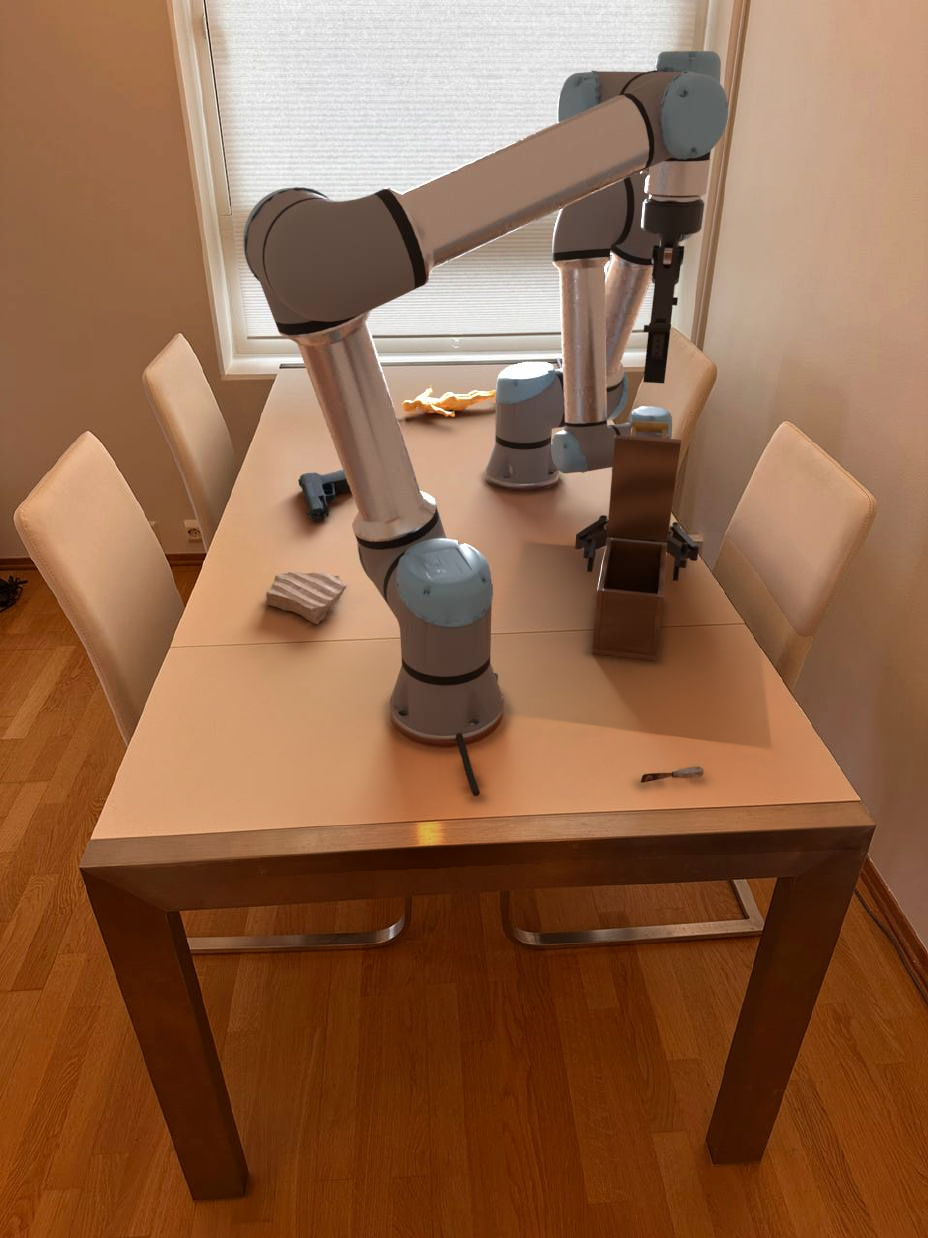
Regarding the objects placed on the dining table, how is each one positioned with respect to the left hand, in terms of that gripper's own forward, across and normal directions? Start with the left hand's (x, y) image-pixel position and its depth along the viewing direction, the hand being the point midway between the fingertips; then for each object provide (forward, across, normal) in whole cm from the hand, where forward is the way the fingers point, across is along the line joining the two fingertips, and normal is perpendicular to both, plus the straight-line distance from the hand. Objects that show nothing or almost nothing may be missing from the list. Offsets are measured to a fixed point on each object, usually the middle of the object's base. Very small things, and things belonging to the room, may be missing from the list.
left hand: (655, 367), depth 122 cm
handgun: (+39, -30, -61) cm, 78 cm away
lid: (+19, -1, 0) cm, 19 cm away
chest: (+39, +5, 0) cm, 40 cm away
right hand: (+33, -3, 0) cm, 33 cm away
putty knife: (+39, +39, +8) cm, 56 cm away
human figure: (+39, -89, -50) cm, 109 cm away
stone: (+39, +9, -52) cm, 65 cm away
